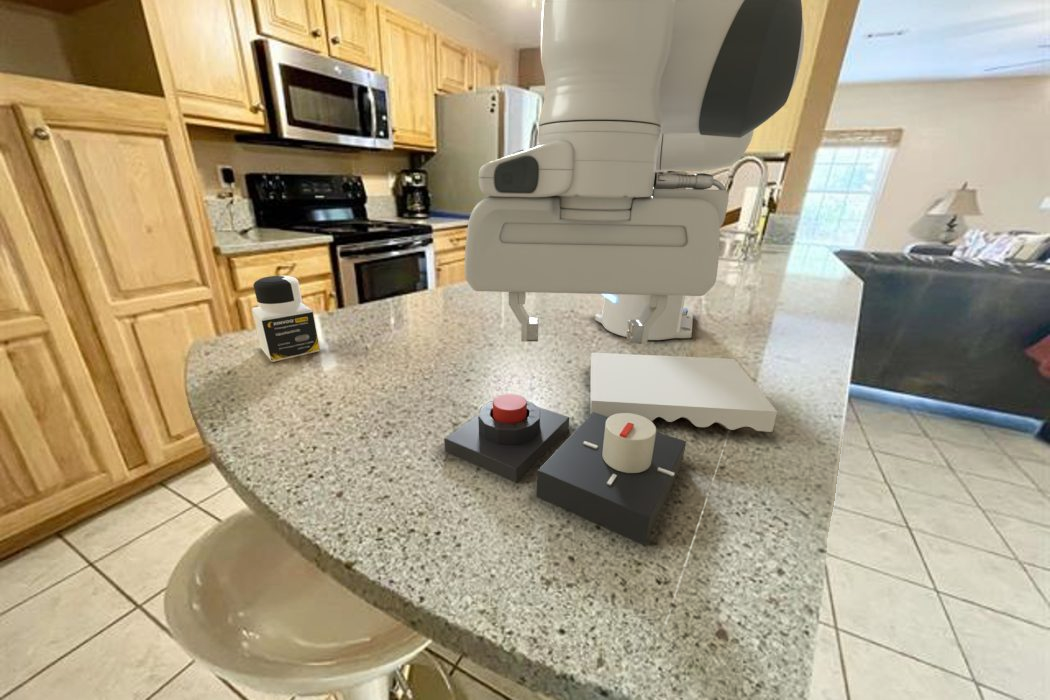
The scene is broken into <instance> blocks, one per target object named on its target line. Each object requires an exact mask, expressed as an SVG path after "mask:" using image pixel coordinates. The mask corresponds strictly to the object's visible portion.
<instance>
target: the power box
mask: <svg viewBox="0 0 1050 700" xmlns="http://www.w3.org/2000/svg"><path fill="white" fill-rule="evenodd" d="M526 401H527V416H526V419H525V420H524V421H522V422H518V423H515V424H510V423H501V422H498V421H495V419H494V418H493V400H490V401H488V402H487V403H486V404H484V405H483V406H481V407H480V409H479V413H478V414H477V415H475V416H474V417H473V418H471V419H470V420H468V421H467V422H465V423H464V424H462V425H461V426H460V427H458V428H457V429H456V430H454V431H453V432H451V433H450V434H448V435H447V436H446V437H444V438H443V439H444V440H443V441H444V452H446V453H448V454H449V455H452V456H454V457H457V458H458V459H461V460H463V461H466V462H468V463H470V464H472V465H475V466H477V467H478V468H481V469H483V470H486V471H487V472H490V473H492V474H494V475H496V476H499V477H501V478H503V479H506V480H508V481H510V482H512V483H514V484H517V483H519V481H520V480H521V479H523V477H524V476H525V475H526V474H527V473H528V472H529V471H530V470H531V469H532V468H533V467H534V466H535V465H536V464H537V463H538V462H539V461H540V460H541V458H543V457H544V456H545V455H546V453H548V452H549V450H550V449H551V448H552V447H553V446H554V445H556V444H557V442H558V441H559V440H560V439H561V438H562V437H563V436H564V435H565V434H566V433H567V432H568V431H569V430H570V417H569V416H567V415H564V414H560V413H558V412H555V411H552V410H548V409H546V408H543V407H540V406H537V405H536V404H535V403H533V402H531V401H528V400H526Z"/></svg>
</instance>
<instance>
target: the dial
mask: <svg viewBox="0 0 1050 700" xmlns="http://www.w3.org/2000/svg"><path fill="white" fill-rule="evenodd" d="M656 432H657V427H656V425H655V424H654V422H653V421H650V420H649V419H647V418H645V417H643V416H640V415H637V414H632V413H618V414H614V415H612V416H610V417H609V418H608V419H607V420H606V424H605V434H604V443H603V453H602V456H603V459H604V461H605V462H606V463H607V464H608V465H609V466H610V467H612V468H613V469H615V470H618V471H621V472H625V473H640V472H643V471H645V470H647V469H648V468H649V467H650V465H651V461H652V455H653V449H654V442H655V436H656Z"/></svg>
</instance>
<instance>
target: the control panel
mask: <svg viewBox="0 0 1050 700" xmlns="http://www.w3.org/2000/svg"><path fill="white" fill-rule="evenodd" d="M608 418H609V417H607V416H604V415H601V414H598V413H595V412H592V414H591V413H590V414H589V415H588V417H587V418H586V419H585V420H584V421H583V422H582V423H580V425H579V426H578V427H577V428H576V429H575V430H574V431H573V432H572V434H571V435H570V436H569V437H568V438H567V439H566V440H565V441H563V443H562V444H561V445H560V446H559V447H558V448H557V449H556V450H555V451H554V453H553V454H552V455H551V456H550V457H549V458H548V459H546V461H545V462H544V463H543V464H542V465H541V466H540V467H539V468H538V469H537V471H536V472H537V473H536V474H537V475H536V498H538V499H540V500H543V501H545V502H547V503H548V504H551V505H554V506H555V507H558V508H561V509H562V510H565V511H567V512H569V513H571V514H573V515H576V516H577V517H580V518H581V519H584V520H586V521H589V522H590V523H593V524H595V525H598V526H600V527H602V528H604V529H607V530H609V531H611V532H613V533H615V534H617V535H620V536H621V537H624V538H626V539H628V540H631V541H633V542H635V543H638V544H639V545H642V546H646V544H647V543H648V540H649V538H650V535H651V534H652V531H653V529H654V527H655V525H656V522H657V521H658V518H659V516H660V513H661V512H662V510H663V508H664V505H665V503H666V500H667V499H668V497H669V494H670V493H671V490H672V488H673V486H674V483H675V481H676V479H677V477H678V474H679V473H680V470H681V468H682V466H683V461H684V455H685V450H686V445H687V441H686V440H684V439H681V438H678V437H675V436H671V435H668V434H665V433H662V432H658V431H656V436H655V442H654V449H653V455H652V461H651V465H650V467H649V468H648V469H647V470H645V471H643V472H640V473H625V472H621V471H618V470H615V469H613V468H612V467H610V466H609V465H608V464H607V463H606V462H605V461H604V459H603V456H602V453H603V443H604V434H605V424H606V420H607V419H608Z"/></svg>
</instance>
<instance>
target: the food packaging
mask: <svg viewBox="0 0 1050 700" xmlns="http://www.w3.org/2000/svg"><path fill="white" fill-rule="evenodd" d="M589 399H590V415H591V414H592V412H595V413H598V414H601V415H604V416H607V417H610V416H612V415H614V414H618V413H632V414H637V415H640V416H643V417H645V418H647V419H649V420H650V421H651V422H653V421H654V420H655V419H657V418H661V419H662V420H665V421H666V422H668V423H672V422H674V421H676V420H678V419H680V418H683V419H686V420H687V421H689V422H690V423H691V424H693V426H695V427H696V428H708V427H710V426H711V425H713V424H715V423H716V424H718V425H719V426H721V427H722V428H724V429H726V430H730V431H734V430H737V429H740V428H745V427H749V428H751V429H753V430H754V431H757V432H768V433H772V432H773V431H774V428H775V422H776V418H777V414H778V411H777V410H776V408H775V407H774V405H772V403H771V402H770V401H769V400H768V399H767V397H766V396H765V394H764V393H763V392H762V391H761V390H760V389H759V387H758V386H757V385H756V384H755V383H754V381H753V380H752V379H751V378H750V376H749V375H748V374H747V373H746V372H745V370H744V369H743V368H742V367H741V365H739V363H738V362H737V360H736V359H735V358H724V357H723V358H722V357H703V356H702V357H701V356H699V357H698V356H679V355H678V356H676V355H675V356H674V355H655V354H653V355H651V354H634V353H633V354H630V353H609V352H607V353H606V352H591V354H590V398H589Z"/></svg>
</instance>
